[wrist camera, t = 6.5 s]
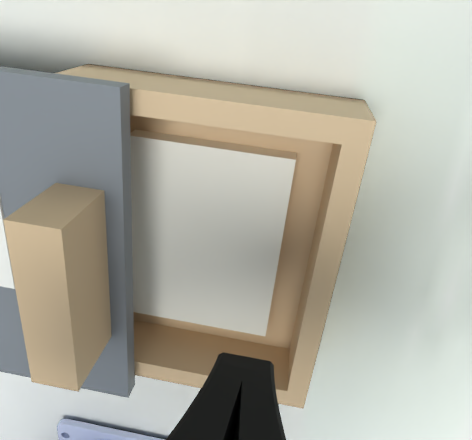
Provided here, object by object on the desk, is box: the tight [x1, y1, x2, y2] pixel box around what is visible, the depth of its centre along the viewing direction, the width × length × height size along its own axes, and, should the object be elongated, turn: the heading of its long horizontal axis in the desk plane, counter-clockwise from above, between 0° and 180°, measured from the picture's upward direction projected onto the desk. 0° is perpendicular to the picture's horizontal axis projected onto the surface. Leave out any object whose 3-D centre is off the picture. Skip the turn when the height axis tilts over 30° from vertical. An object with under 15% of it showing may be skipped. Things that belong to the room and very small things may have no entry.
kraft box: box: [56, 64, 376, 408], centre depth 17 cm, size 12×10×3 cm
